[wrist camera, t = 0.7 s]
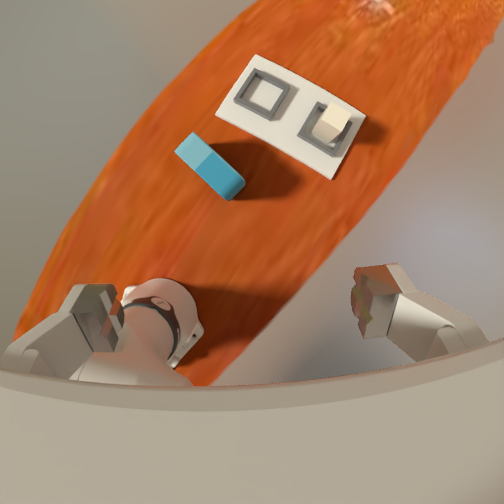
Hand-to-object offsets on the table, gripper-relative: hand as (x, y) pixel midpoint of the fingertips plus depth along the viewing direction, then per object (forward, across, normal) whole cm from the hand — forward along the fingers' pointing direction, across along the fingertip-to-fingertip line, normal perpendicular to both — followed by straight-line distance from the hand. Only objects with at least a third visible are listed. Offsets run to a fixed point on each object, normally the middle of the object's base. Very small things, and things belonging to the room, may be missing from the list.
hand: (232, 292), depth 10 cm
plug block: (+54, +16, -5) cm, 56 cm away
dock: (+56, +10, -2) cm, 57 cm away
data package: (+52, -6, -12) cm, 54 cm away
